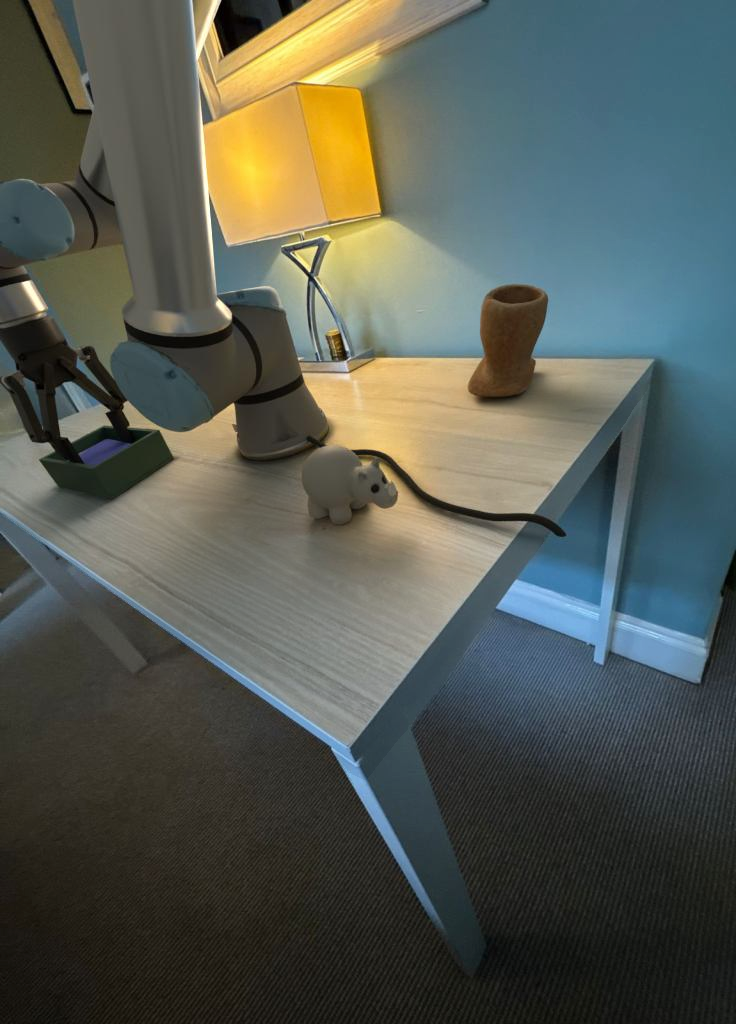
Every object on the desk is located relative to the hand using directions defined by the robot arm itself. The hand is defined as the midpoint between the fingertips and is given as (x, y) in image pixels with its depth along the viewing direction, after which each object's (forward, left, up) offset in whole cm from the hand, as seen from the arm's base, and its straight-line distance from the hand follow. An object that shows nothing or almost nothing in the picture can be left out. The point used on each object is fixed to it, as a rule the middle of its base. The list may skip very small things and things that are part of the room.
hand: (108, 459), depth 75 cm
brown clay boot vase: (-57, -39, -3) cm, 69 cm away
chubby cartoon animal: (-50, 0, -3) cm, 50 cm away
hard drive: (0, 0, 0) cm, 0 cm away
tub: (0, 0, -3) cm, 3 cm away
